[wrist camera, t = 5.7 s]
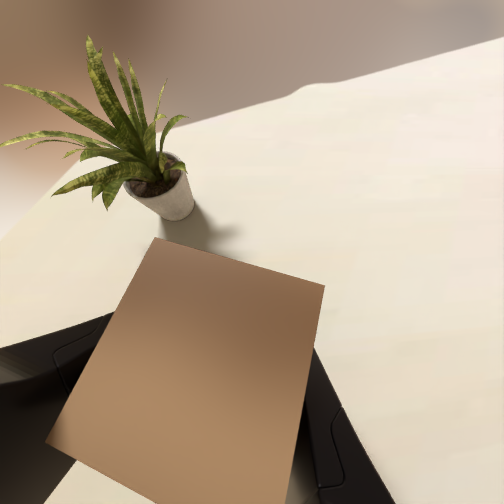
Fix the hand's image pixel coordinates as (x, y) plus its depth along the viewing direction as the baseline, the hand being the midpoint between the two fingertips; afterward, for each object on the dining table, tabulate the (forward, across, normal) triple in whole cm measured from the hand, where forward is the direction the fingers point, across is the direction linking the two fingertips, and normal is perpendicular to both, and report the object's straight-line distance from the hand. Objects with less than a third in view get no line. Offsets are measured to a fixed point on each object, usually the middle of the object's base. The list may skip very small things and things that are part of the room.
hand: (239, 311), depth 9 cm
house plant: (+18, +17, +1) cm, 25 cm away
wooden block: (+4, 0, +6) cm, 7 cm away
